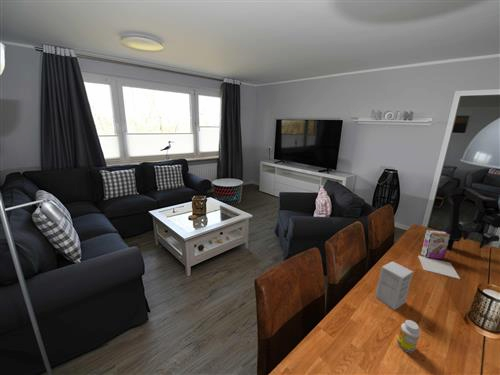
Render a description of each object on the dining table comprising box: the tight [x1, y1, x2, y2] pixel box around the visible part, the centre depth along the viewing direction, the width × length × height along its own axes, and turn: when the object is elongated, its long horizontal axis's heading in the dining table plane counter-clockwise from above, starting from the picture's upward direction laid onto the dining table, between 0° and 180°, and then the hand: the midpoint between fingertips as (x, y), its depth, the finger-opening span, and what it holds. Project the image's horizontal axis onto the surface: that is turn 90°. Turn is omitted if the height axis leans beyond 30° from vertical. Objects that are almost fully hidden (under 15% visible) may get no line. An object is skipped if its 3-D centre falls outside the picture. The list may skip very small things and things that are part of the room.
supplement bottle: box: [396, 319, 421, 354], centre depth 82 cm, size 6×6×10 cm
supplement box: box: [374, 261, 414, 311], centre depth 103 cm, size 10×9×17 cm
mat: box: [417, 255, 461, 280], centre depth 132 cm, size 16×16×1 cm
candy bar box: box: [420, 229, 450, 260], centre depth 140 cm, size 11×5×16 cm, turn 84°
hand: (472, 243), depth 133 cm, fingers open, 9 cm apart
